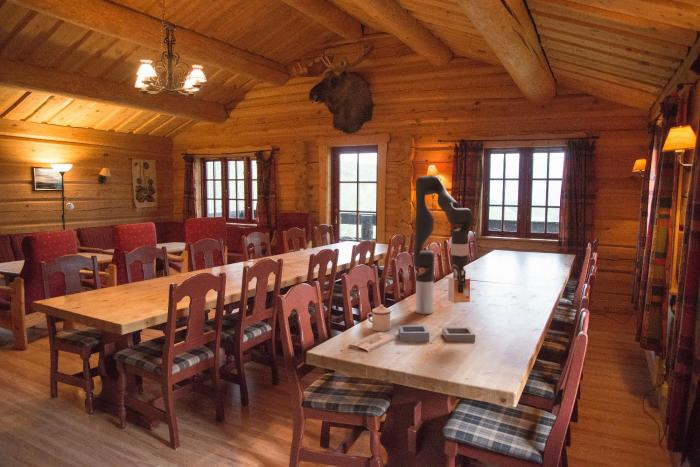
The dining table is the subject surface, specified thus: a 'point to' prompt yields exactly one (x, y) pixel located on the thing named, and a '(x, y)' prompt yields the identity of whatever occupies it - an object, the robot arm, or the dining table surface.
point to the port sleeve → (414, 333)
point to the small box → (453, 291)
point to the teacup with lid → (380, 318)
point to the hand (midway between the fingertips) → (458, 290)
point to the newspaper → (373, 341)
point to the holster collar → (458, 334)
